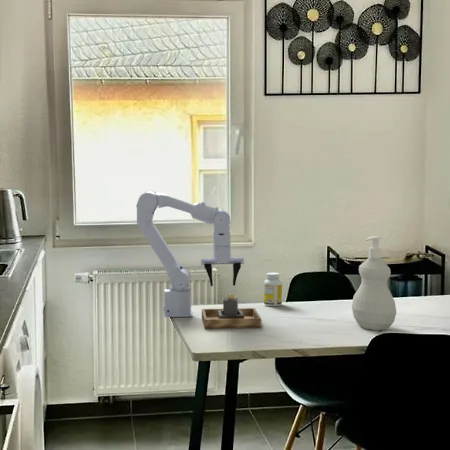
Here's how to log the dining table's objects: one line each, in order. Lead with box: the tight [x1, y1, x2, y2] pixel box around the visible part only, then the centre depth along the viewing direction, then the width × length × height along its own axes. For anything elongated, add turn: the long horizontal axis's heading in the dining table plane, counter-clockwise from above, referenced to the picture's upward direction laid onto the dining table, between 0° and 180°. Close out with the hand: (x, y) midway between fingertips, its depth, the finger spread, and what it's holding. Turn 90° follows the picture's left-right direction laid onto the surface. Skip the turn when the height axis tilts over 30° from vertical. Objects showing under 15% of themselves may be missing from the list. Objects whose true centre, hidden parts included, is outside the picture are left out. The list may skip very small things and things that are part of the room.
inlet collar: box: [217, 310, 244, 319], centre depth 259 cm, size 8×8×2 cm
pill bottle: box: [263, 271, 283, 307], centre depth 287 cm, size 6×6×12 cm
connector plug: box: [222, 293, 239, 315], centre depth 259 cm, size 4×4×8 cm
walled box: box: [201, 307, 262, 330], centre depth 259 cm, size 18×16×3 cm
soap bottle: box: [351, 235, 397, 331], centre depth 252 cm, size 17×12×29 cm
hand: (222, 285), depth 269 cm, fingers open, 7 cm apart
